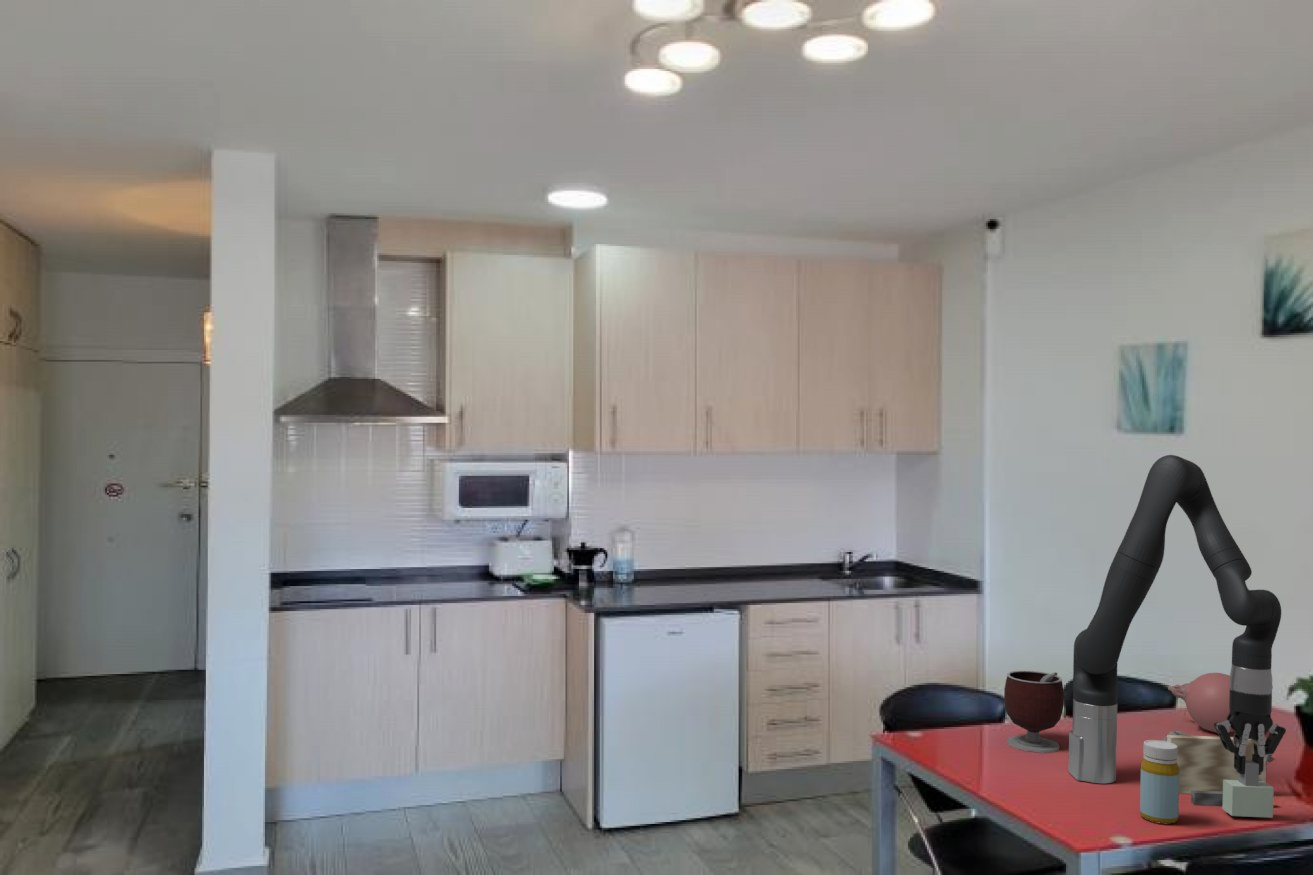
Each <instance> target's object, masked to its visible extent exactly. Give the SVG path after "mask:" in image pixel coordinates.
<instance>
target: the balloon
mask: <svg viewBox="0 0 1313 875" xmlns="http://www.w3.org/2000/svg"><path fill="white" fill-rule="evenodd" d="M1167 690H1168V691H1170V692H1171V693H1172V695H1173V696H1175V698H1177V699H1181V700H1183V702H1184V703H1185V706H1186V709H1187V712H1188V714H1189V716H1190V718H1191V719H1192V720H1193V721H1194V722H1195V723H1196V725H1198V726H1200V727H1201V728H1203V729H1204V730H1206V731H1209V732H1210V733H1214V734H1215V733H1216V734H1218V733H1217V731H1216V729H1215V727H1214V723H1216V722H1218V723H1221V722H1223V721H1226V720H1227V717H1228V715H1229V713H1230V710H1229V693H1230V674H1227V673H1223V672H1209V673H1204V674H1201V675H1200V676H1198V677H1197V678H1195V679H1194V680H1192V681H1190V682H1189V683H1183V684H1181V685H1179V684H1175V685H1170V686H1168V687H1167ZM1229 729H1230V731H1229V732H1228V734H1229V733H1234V731H1233V729H1232V728H1231V726H1230V727H1229Z"/></svg>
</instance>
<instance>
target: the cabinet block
mask: <svg viewBox="0 0 1313 875" xmlns="http://www.w3.org/2000/svg"><path fill="white" fill-rule="evenodd" d="M1258 779H1259V764H1257V763H1256V762H1254V761H1253V760H1250V759H1246V762H1245V774H1240V773H1238V780H1223V804H1222V806H1221V807H1222V808H1221V809H1222V810H1223V811H1224V812H1226V813H1228V814H1229V815H1230V816H1231V817H1250V818H1251V817H1252V818H1270V819H1271V818H1272V819H1273V818H1274V787H1273V786H1272V785H1270V784H1269V783H1268V782H1264V781H1258Z"/></svg>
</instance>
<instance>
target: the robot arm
mask: <svg viewBox="0 0 1313 875" xmlns="http://www.w3.org/2000/svg"><path fill="white" fill-rule="evenodd" d="M1176 504H1178V506H1179V507H1180V508H1181V509H1182V510H1183V512H1184V513H1185V515H1186V517H1187V518H1188V519H1189V521H1190V524H1191V525H1192V528H1193V531H1194V535H1195V538H1196V541H1197V546H1198V549H1199V551H1200V554H1201V556H1202V557H1203V560H1204V562H1205V563H1206V565H1207V567H1208V569H1209V571H1210V572H1211V574H1212V576H1213V577H1214V579H1215V581H1216V585H1217V586H1216V587H1217V591H1218V593H1219V597H1220V602H1221V605H1222V608H1223V611H1224V613H1225V614H1226V616H1227V617H1229V619H1230V620H1231V621H1233V623H1234V624H1237V625H1239V626H1243V627H1244V626H1245V630H1244V631H1243V633H1241V634H1240V635H1237V636H1236V637H1235V638H1234V639H1233V641H1232V647H1231V667H1230V672H1229V676H1230V693H1229V710H1230V713H1229V715H1228V717H1227V720H1226V721H1223V722H1221V723H1218V722H1216V723H1214V727H1215V729H1216V731H1217V733H1216V734H1217V735H1218V737H1220V739H1221V742H1222V744H1223V746H1224V748H1225V749H1227V750H1229V751H1230V752H1232V753H1234V768H1235V769H1236V770H1237V772H1238V773H1240V774H1245V762H1246V757H1245V756H1244V754H1245V749H1246V745H1247V744H1248V739H1251V742H1252V746H1253V752H1254V754H1252V760H1253V761H1254V762H1256V763H1257V764H1259V775H1260V774H1261V772H1263V767H1264V756H1265V755H1267V754H1271V755H1273V754H1275V752H1276V750H1277V748H1278V746H1279V744H1280V743H1281V742H1282V739H1283V738H1284V735H1285V734H1286V731H1287V730H1286V728H1285V727H1283V726H1282V725H1280V724H1276V723H1274V721H1273V718H1272V711H1273V710H1272V707H1273V706H1272V705H1273V674H1272V656H1273V655H1272V650H1273V645H1274V642H1275V640H1276V636H1277V633H1278V630H1279V627H1280V623H1281V620H1282V605H1281V604H1280V603H1281V602H1280V600H1279V598H1278V597H1277V595H1275V594H1274V592H1272V591H1270V590H1268V589H1249V587H1248V586H1247V583H1246V581H1247V580H1248V579H1249V578H1251V576H1252V572H1253V571H1252V567H1251V566H1250V564H1249V562H1248V561H1247V559H1246V557H1245V555H1244V554H1243V552H1242V551H1241V549H1240V547H1239V545H1238V544H1237V542H1236V540H1235V539H1234V537H1233V535H1232V534H1231V532H1230V530H1229V528H1228V527H1227V524H1226V523H1225V520H1224V519H1223V517H1222V515H1221V513H1220V511H1219V508H1218V506H1217V504H1216V502H1215V499H1214V497H1213V494H1212V491H1211V489H1210V486H1209V483H1208V480H1207V478H1206V476H1205V473H1204V471H1203V470H1202V468H1201V467H1200V466H1199V465H1197V464H1196V463H1195V462H1193V461H1191V460H1188V459H1186V458H1183V457H1180V456H1178V455H1174V454H1168V455H1164V456H1162V457H1160V458H1158V459H1156V461H1155V462H1154V463H1153V464H1152V466H1151V467H1150V469H1149V471H1148V474H1147V477H1146V479H1145V483H1144V485H1143V489H1142V491H1141V495H1140V497H1139V501H1138V504H1137V506H1136V509H1135V511H1134V513H1133V516H1132V518H1131V520H1130V522H1129V525H1128V527H1127V528H1126V532H1125V534H1124V536H1123V538H1122V540H1121V542H1120V544H1119V547H1118V548H1117V551H1116V552H1115V555H1114V558H1113V560H1112V562H1111V563H1110V567H1109V569H1108V572H1107V574H1106V578H1105V582H1104V585H1103V587H1102V592H1101V596H1100V599H1099V603H1098V606H1097V609H1096V612H1095V614H1094V615H1093V617H1092V619H1091V620H1090V623H1089V624H1088V627H1087V628H1085V629H1084V630H1082V631H1080V632H1079V633H1078V635H1077V636H1076V637H1075V639H1074V642H1073V643H1074V644H1073V663H1072V664H1073V665H1072V666H1073V668H1072V672H1073V674H1072V677H1073V678H1072V692H1073V694H1072V729H1071V730H1069V731H1068V732H1069V733H1068V773H1069V774H1070V775H1071V776H1072V777H1073V778H1075V780H1076V781H1083V782H1087V783H1092V784H1111V783H1112V784H1113V783H1114V782H1116V781H1117V748H1118V747H1117V746H1118V745H1117V739H1118V738H1117V737H1118V736H1117V735H1118V731H1117V730H1118V697H1119V696H1118V695H1119V694H1118V693H1119V692H1118V662H1119V659H1120V657H1121V656H1120V655H1121V652H1122V650H1123V649H1122V648H1123V646H1124V643H1125V639H1126V637H1127V634H1128V631H1129V628H1130V626H1131V623H1132V622H1133V620H1134V618H1135V616H1136V614H1137V613H1138V611H1139V609H1140V607H1141V606H1142V604H1143V602H1144V601H1145V599H1146V597H1147V595H1148V593H1149V592H1150V589H1151V587H1152V585H1153V584H1154V581H1155V579H1156V577H1157V575H1158V573H1159V571H1160V568H1161V566H1162V563H1163V560H1164V556H1165V546H1166V529H1167V525H1168V521H1169V518H1170V516H1171V513H1172V511H1173V510H1174V507H1175V506H1176ZM1230 726H1231V728H1232V729H1233V736H1232V737H1233V740H1234V744H1233V742H1232V740H1231V738H1230V737H1231V736H1230V734H1229V733H1228V732H1229V731H1230V729H1229V727H1230ZM1268 731H1269V734H1268V735H1267V737H1265V735H1266V734H1267V732H1268ZM1265 738H1266V739H1265ZM1265 740H1266V741H1265Z"/></svg>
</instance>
